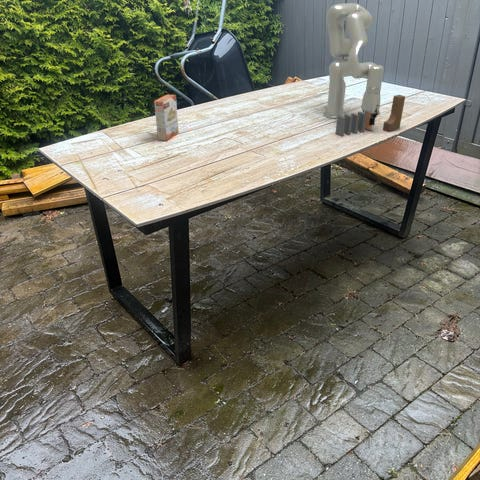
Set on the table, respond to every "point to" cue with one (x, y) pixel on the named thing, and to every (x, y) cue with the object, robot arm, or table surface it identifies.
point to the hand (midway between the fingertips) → (368, 123)
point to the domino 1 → (340, 125)
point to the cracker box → (166, 117)
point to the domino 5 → (367, 126)
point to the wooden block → (395, 114)
